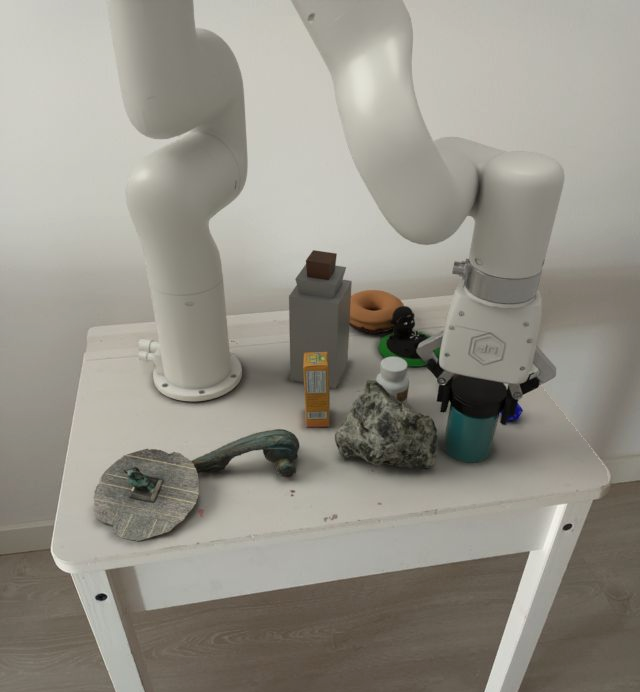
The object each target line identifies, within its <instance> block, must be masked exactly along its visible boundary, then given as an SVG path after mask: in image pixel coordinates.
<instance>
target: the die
mask: <svg viewBox="0 0 640 692" xmlns="http://www.w3.org/2000/svg"><path fill="white" fill-rule="evenodd" d="M523 412H524V409H523V408H522V407H521V405H520V404H519V402H518V403H517V407H516V411H515V415H514V417H513V416H508V419H507V423H508V422H509V423H510V422H512V421H518V420H519V419H520V417H521V415H522V414H523ZM501 415H502V411H501V412H500V416H501Z"/></svg>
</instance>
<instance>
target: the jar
mask: <svg viewBox="0 0 640 692" xmlns="http://www.w3.org/2000/svg"><path fill="white" fill-rule="evenodd" d="M500 415H501V413H499V414H497V415H495V416H492V417H485V418H479V417H472V416H468V415H465V414H463V413H461V412H459V411H457V410H456V409H455V408H454V407H453V406H452V405H451V403H450V402H449V408H448V414H447V419H446V426H445V431H444V437H443V440H442V441H443V443H442V445H443V449H444V451H445V453H447V455H448V456H449V457H451V458H453V459H455V460H456V461H460V462H463V463H479V462H483V461H484V460H486V459H487V458H488V457H489V456H490V454H491V451H492V447H493V443H494V438H495V435H496V430H497V428H498V427H497V426H498V422H499V418H500Z"/></svg>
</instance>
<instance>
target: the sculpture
mask: <svg viewBox="0 0 640 692" xmlns="http://www.w3.org/2000/svg"><path fill="white" fill-rule="evenodd" d="M191 461H192V460H191V459H189V458H188V457H187V456H184V454H182V453H180V452H176V451H173V452H170V453H168V452H166V451H164V450H162V449H157V448H150V449H149V448H143V449H140V450H137V451H134V452H130V453H127V454H124V455H123V456H121V458H119V459H117V460H116V461H115V462H113V463H112V464H111V465H110V466H109V467H108V468H107V469H105V471H104V472H103V473H102V475H101V476H100V477H101V478H100V481H99V483H98V484H97V485H96V486H95V490H94V494H93V500H94V513H95V516H96V518H97V520H98V521H100V522H102V523H104V524H108V525H111V526H112V528H113V529H112V530H113V534H114V535H115V536H117V537H119V538H120V539H121V538H122V539H126V540H130V541H136V542H139V541H143V540H146V539H150V538H154V537H157V536H159V535H163V534H166V533H169V532H171V531H172V530H173V528H175V527H176V526H177V525H179V524H180V523H182V522H183V521H184V520H185V518H186V517H187V515H188V513H190V512H191V511H193V510H192V509H194V507H195V505H196V504H197V501H198V497H199V495H200V479H199V473H197V471H196V468H195V467H194V464H193V463H192V462H191Z"/></svg>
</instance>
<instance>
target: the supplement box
mask: <svg viewBox="0 0 640 692" xmlns="http://www.w3.org/2000/svg"><path fill="white" fill-rule="evenodd" d="M303 372H304V383H303V390H304V391H303V392H304V411H305V413H304V415H305V427H306V428H326V427H327V428H329V427H330V424H331V423H330V422H331V421H330V412H331V411H330V387H329V364H328V352H309V353H304V360H303Z"/></svg>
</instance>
